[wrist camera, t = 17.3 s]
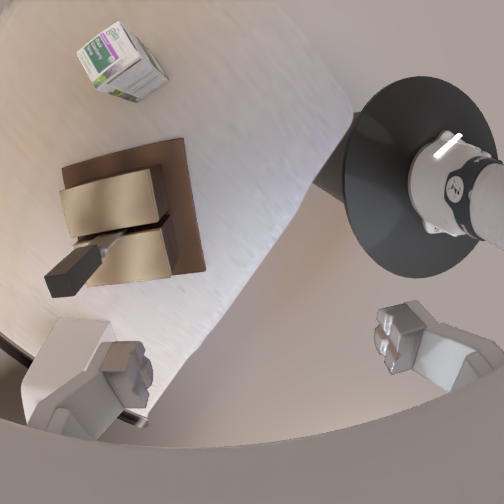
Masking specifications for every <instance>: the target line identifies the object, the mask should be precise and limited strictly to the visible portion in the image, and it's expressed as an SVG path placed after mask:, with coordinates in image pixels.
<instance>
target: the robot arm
mask: <svg viewBox="0 0 504 504" xmlns="http://www.w3.org/2000/svg"><path fill="white" fill-rule="evenodd" d="M461 136H462V134H457V135H454V134H453V133H451V132H450V131H447V130H443V131H442V132H441V133H440V134H439V135H438V137H437V138H436V139H435V140H434V141H432V142H430V143H428V144H426V145H425V146H423V147H422V148H421V149H420V150H419V151H418V152H417V154H416V155H415V157H414V159H413V161H412V163H411V166H410V170H409V174H408V193H409V197H410V201H411V203H412V205H413V207H414V209H415V210H416V212H417V213H418V214H419V216H420V217H421V219H422V223H423V227H424V230H425V231H426V232H427V233H430V234H433V233H441V232H446V233H448V234H450V235H452V236H455V237H456V236H457V235H463V234H468V235H469V236H471V237H473V238H475V239H478V240H481V241H487V242H489V243H491V244H493V245H494V246H496V247H497V248H499V249H501V250H502V251H504V165H503V163H502V161H500V160H496V159H493V158H491V155H490V154H489V153H487V152H484V151H481V149H480V148H478V147H474V146H473V145H470V144H466V143H465V142H464V141H462V140H461V139H460V137H461ZM376 319H377V321H378V322H379V325H378V326H377V327H376V328H375V332H374V341H375V346H376V349H377V351H378V353H379V354H380V355H382V356H384V357H385V361H384V363H385V365H386V366H387V368H388V370H389V372H390V373H391V374H392V375H393V374H397V373H400V372H404V371H407V370H411V369H412V370H413V371H415V372H416V373H418V374H419V375H421V376H423V377H424V378H426V379H428V380H429V381H431V382H432V383H434V384H436V385H437V386H439V387H441V388H442V389H444V390H445V391H447V392H448V393H447V394H445V395H443V396H440V397H438V398H435V399H433V400H431V401H428V402H426V403H423V404H420V405H418V406H415V407H412V408H410V409H407V410H404V411H401V412H398V413H395V414H392V415H390V416H386V417H383V418H380V419H377V420H373V421H370V422H367V423H363V424H359V425H355V426H352V427H348V428H344V429H340V430H335V431H331V432H327V433H322V434H317V435H312V436H307V437H301V438H295V439H289V440H283V441H276V442H268V443H260V444H250V445H239V446H225V447H203V448H202V447H201V448H172V447H148V446H133V445H123V444H114V443H105V442H98V441H96V440H97V438H98V437H99V436H100V435H101V434H102V433H103V432H104V431H105V430H106V429H107V428H108V427H109V426H110V424H111V423H112V422H113V421H114V420H115V419H116V418H117V417H118V416H119V415H120V414H121V412H122V411H123V410H124V408H146V406H147V402H148V398H149V392H148V390H147V389H148V388H149V387H150V386H151V385H152V381H153V369H152V365H151V362H150V360H149V359H148V358H147V357H145V356H144V353H145V348H144V346H143V344H142V342H140V341H115V342H102V343H100V345H99V347H98V348H97V350H96V352H95V354H94V356H93V358H92V360H91V362H90V364H89V366H88V368H87V370H86V371H82V372H81V373H79V374H78V375H76V376H75V377H74V378H72V379H71V380H69V381H68V382H67V383H65V384H64V385H62V386H61V387H60V388H58V389H57V390H55V391H54V392H53V393H51V394H50V395H48V396H47V397H46V398H44V399H43V400H41V401H40V402H39V403H38V404H37V406H36V408H35V410H34V411H33V413H32V415H31V417H30V419H29V421H28V423H27V426H23V425H20V424H16V423H13V422H10V421H7V420H4V419H1V418H0V504H504V351H503V350H502V349H501V348H500V347H499V346H498V345H497V344H496V343H495V342H494V341H491V340H489V339H486V338H483V337H480V336H478V335H475V334H472V333H469V332H467V331H464V330H461V329H458V328H456V327H453V326H450V325H447V324H445V323H440V324H439V323H438V322H437V321H436V320H435V319H434V317H433V316H432V315H431V314H430V313H429V312H428V311H427V310H426V309H425V308H424V307H423V306H422V305H421V304H420V303H419V301H417V300H413V301H409V302H405V303H403V304H399V305H395V306H391V307H386V308H382V309H379V310H378V312H377V317H376Z"/></svg>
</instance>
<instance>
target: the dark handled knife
mask: <svg viewBox="0 0 504 504" xmlns="http://www.w3.org/2000/svg"><path fill="white" fill-rule="evenodd" d="M127 231H128V229H127V228H125V229H119V230H114V231H108V232H103V233H100V234H99V235H98V236H97V237H96V238H95V239H93V240H92V241H91V242H90V243H89V244H88V245H87V246H84V247H78V248H76V249H75V250H73V251H72V252H71V253H70V254H69V255H68V256H66V257H65V258H64V259H63V260H62V261H61V262H60V263H59V264H57V265H56V266H55V267H54V268H53V269H52V270H51V271H50V272H49V273H48V274H47V275H45V276H44V278H45V281H46V284H47V286H48V289H49V291H50V294H51V296H52V298H59V297H70V296H75V295H76V294H77V292H78V291H79V290H80V289H81V288H82V286H83V285H84V284H85V283H86V282H87V280H88V279H89V278H90V277H91V276H92V275H93V273H94V272H95V271H96V270H97V269H98V268H99V267H100V265H101V264H102V260H101V259H102V258H104V257H105V252H108V251H109V250H110V249H111V248H112V247H113V246H114V245H115V244H116V243H117V241H118V240H119V239H120V238H121V237H122V236H123V235H124V234H125V233H126V232H127Z"/></svg>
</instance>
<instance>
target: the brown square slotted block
mask: <svg viewBox="0 0 504 504" xmlns="http://www.w3.org/2000/svg"><path fill="white" fill-rule="evenodd" d="M62 175H63V180H64V184H65V189H64V190H62V191H60V192H59V193H60V197H61V202H62V206H63V210H64V214H65V218H66V222H67V225H68V229H69V233H70V236H71V238H74V237H78V240H79V241H78V242H76V243H75V244H74V245H73V246H74V249H76V248H78V247H84V246H87V245H88V244H89V243H90V242H91V241H92V240H93V239H95V238H96V237H97V236H98V235H99V234H100V233H103V232H108V231H114V230H119V229H125V228H127V229H128V231H127V232H126V233H125V234H124V235H123V236H122V237H121V238H120V239H119V240H118V241H117V243H116V244H115V245H114V246H113V247H112V248H111V249H110V250H109V251H108V252H105V257H104V258H102V259H101V260H102V264H101V265H100V267H99V268H98V269H97V270H96V271H95V272H94V273H93V275H92V276H91V277H90V278H89V279H88V280H87V282H86V285H87V287H95V286H104V285H112V284H121V283H130V282H138V281H147V280H155V279H163V278H171V276H172V275H180V274H188V273H196V272H204V271H206V266H205V261H204V256H203V251H202V245H201V240H200V235H199V229H198V224H197V218H196V213H195V207H194V201H193V195H192V189H191V183H190V177H189V171H188V165H187V158H186V152H185V145H184V138H179V139H174V140H169V141H164V142H159V143H154V144H150V145H145V146H141V147H137V148H132V149H128V150H124V151H120V152H116V153H113V154H109V155H105V156H101V157H98V158H94V159H91V160H88V161H84V162H81V163H78V164H74V165H71V166H68V167H65V168H62Z"/></svg>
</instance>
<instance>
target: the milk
mask: <svg viewBox="0 0 504 504" xmlns="http://www.w3.org/2000/svg"><path fill="white" fill-rule="evenodd" d="M115 341H117V340H116V337H115V334H114V330H113V327H112V324H111V321H99V320H83V319H69V318H59V320H58V321H57V323H56V324H55V326H54V327H53V329H52V331H51V332H50V334H49V335H48V337H47V339H46V340H45V342H44V344H43V345H42V347H41V349H40V350H39V352H38V354H37V356H36V357H35V359H34V361H33V363H32V364H31V366H30V368H29V370H28V372H27V373H26V375H25V377H24V379H23V381H22V386H21V394H22V401H23V407H24V412H25V417H26V421H27V423H28V421H29V419H30V417H31V415H32V413H33V411H34V410H35V408H36V406H37V404H38V403H39V402H40V401H41V400H43V399H44V398H46V397H47V396H48V395H50V394H51V393H53V392H54V391H55V390H57V389H58V388H60V387H61V386H62V385H64V384H65V383H67V382H68V381H69V380H71V379H72V378H74V377H75V376H76V375H78V374H79V373H81V372H82V371H86V370H87V368H88V366H89V364H90V362H91V360H92V358H93V356H94V354H95V352H96V350H97V348H98V347H99V345H100V343H102V342H115Z"/></svg>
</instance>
